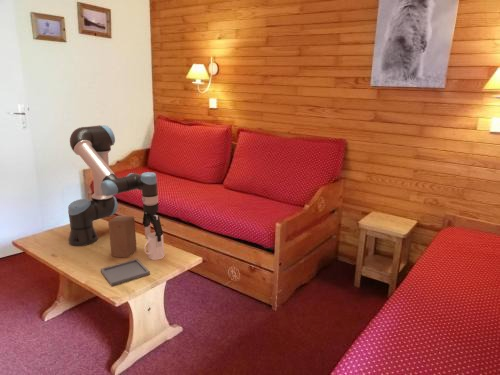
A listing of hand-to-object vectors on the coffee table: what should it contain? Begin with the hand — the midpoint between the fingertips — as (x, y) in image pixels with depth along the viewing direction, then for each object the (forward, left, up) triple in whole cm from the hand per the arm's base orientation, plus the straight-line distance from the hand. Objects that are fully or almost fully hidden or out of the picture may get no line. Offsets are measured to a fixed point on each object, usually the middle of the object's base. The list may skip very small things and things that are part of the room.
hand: (153, 242), depth 192 cm
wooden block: (-13, -11, -9) cm, 19 cm away
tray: (+8, -18, -9) cm, 21 cm away
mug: (0, 0, -9) cm, 9 cm away
